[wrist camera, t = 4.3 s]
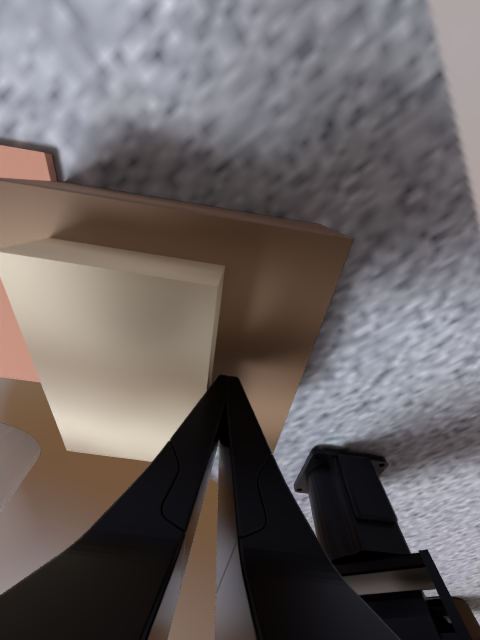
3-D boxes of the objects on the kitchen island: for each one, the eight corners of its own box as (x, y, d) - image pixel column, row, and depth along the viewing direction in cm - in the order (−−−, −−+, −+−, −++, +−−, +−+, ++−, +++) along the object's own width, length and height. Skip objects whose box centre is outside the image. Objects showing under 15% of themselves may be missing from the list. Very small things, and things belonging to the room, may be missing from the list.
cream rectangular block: (205, 428, 12) (198, 467, 10) (93, 413, 12) (67, 450, 10) (225, 265, 8) (217, 286, 6) (49, 237, 8) (-11, 250, 6)
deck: (268, 399, 17) (272, 453, 13) (102, 376, 16) (62, 426, 13) (320, 224, 11) (353, 239, 7) (63, 181, 10) (-32, 175, 7)
